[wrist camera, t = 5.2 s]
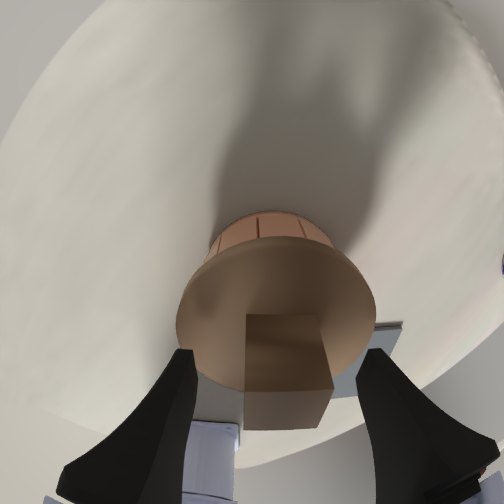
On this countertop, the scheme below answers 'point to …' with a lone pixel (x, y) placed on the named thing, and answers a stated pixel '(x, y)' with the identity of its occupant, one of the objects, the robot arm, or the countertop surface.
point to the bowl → (267, 230)
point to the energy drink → (503, 267)
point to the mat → (379, 339)
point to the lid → (277, 326)
